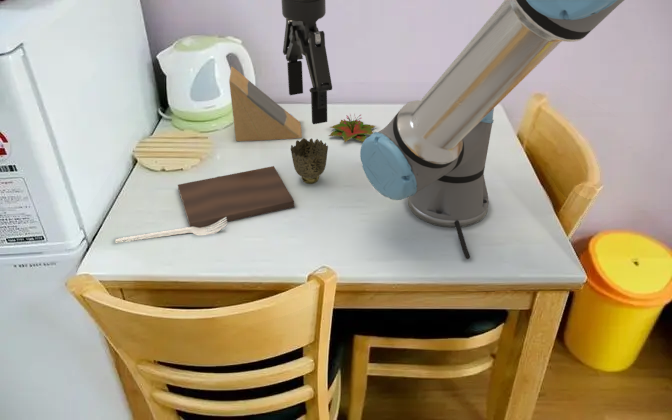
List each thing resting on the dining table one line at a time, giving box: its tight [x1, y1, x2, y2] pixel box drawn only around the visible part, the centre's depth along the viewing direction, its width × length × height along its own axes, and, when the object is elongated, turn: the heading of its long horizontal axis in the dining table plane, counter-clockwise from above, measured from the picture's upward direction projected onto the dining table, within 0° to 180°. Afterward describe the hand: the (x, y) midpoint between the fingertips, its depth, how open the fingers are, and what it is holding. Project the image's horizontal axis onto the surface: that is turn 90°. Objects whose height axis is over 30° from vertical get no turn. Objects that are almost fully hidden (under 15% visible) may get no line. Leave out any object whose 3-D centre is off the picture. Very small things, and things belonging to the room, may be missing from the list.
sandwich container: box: [228, 66, 303, 142], centre depth 137 cm, size 9×15×15 cm, turn 95°
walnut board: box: [177, 165, 295, 228], centre depth 117 cm, size 14×20×2 cm
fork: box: [115, 217, 228, 244], centre depth 108 cm, size 3×20×2 cm, turn 103°
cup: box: [290, 137, 329, 185], centre depth 121 cm, size 8×7×8 cm
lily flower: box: [328, 114, 376, 143], centre depth 139 cm, size 12×12×5 cm
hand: (307, 107), depth 114 cm, fingers open, 13 cm apart
